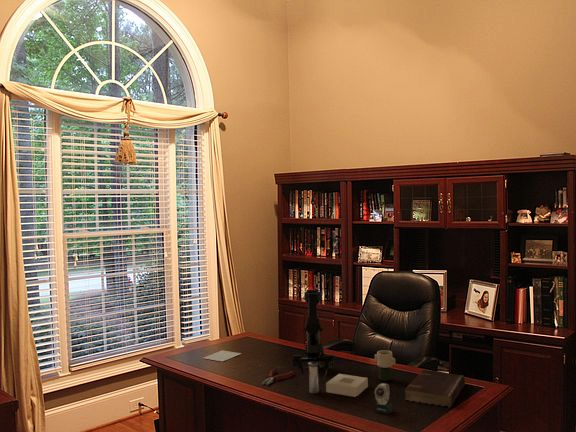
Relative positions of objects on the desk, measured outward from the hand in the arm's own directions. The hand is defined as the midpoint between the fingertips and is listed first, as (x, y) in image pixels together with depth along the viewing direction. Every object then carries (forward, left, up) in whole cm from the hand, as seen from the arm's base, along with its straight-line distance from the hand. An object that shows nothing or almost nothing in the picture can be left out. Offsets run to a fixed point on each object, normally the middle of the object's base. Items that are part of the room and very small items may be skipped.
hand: (313, 378), depth 235 cm
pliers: (-9, -27, -7) cm, 29 cm away
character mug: (-29, +22, -7) cm, 37 cm away
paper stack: (-24, -67, -7) cm, 71 cm away
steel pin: (-1, -1, -7) cm, 7 cm away
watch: (+7, +34, -7) cm, 36 cm away
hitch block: (-10, +11, -7) cm, 17 cm away
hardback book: (-23, +47, -7) cm, 53 cm away
